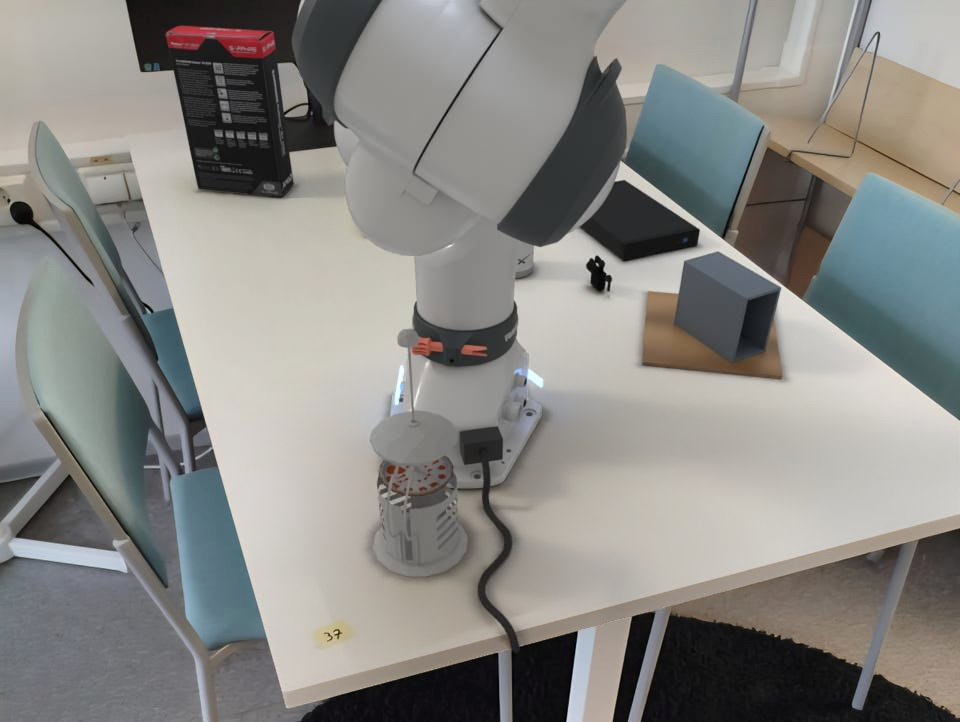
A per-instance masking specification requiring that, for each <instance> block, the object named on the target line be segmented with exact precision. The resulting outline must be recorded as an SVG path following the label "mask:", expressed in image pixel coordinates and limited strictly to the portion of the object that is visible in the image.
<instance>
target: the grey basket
mask: <svg viewBox="0 0 960 722" xmlns="http://www.w3.org/2000/svg"><path fill="white" fill-rule="evenodd" d="M679 283H680V284H679V290H678V294H679V295H678V301H677V307H676V313H675V319H674V324H676V325H677V326H678V327H680V328H681V329H683V330H684V331H686V332H687V333H689V334H690V335H691V336H693V337H694V338H696V339H697V340H699V341H700V342H702V343H703V344H704V345H706V346H707V347H709V348H710V349H712V350H713V351H715V352H716V353H717V354H719V355H720V356H722V357H723V358H725V359H726V360H728V361H729V362H730V363H735V362H737V361H740V360H743V359H746V358H749V357H752V356H755V355H758V354H760V353H763V352H766V348H767V344H768V340H769V336H770V332H771V328H772V324H773V320H774V321H775V315H776V312H777V308H778V303H779V299H780V296H781V291H782V286H780V285H778V284H776V283H774V282H772V281H771V280H769V279H768V278H765V277H764V276H762V275H760V274H759V273H757V272H756V271H754V270H752V269H750V268H748V267H747V266H745V265H743V264H741V263H740V262H737V260H734V259H733V258H731V257H729V256H727V255H726V254H724V253H722V252H721V251H718V250H717V251H714V252H710V253H707V254H704V255H701V256H696V257H693V258H689V259H686V260H683V265H682V271H681V279H680V282H679Z"/></svg>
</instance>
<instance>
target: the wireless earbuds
mask: <svg viewBox="0 0 960 722" xmlns="http://www.w3.org/2000/svg"><path fill="white" fill-rule="evenodd" d="M605 267H606V263H605V260H604V259H602V257H600V256H599V255H598V254H597V255H595V256H594V258H593V257H590V258H589V259H588V261H587V262H586V264H585V268H586V270H587V271H588V272H589V273H590V281H589V282H590V286H592V287H593V288H594V289H595V290H596V291H597V292H599V293H600V292H603V291H604V290H605V289H606V292H609V293H610V292H611V285H612V282H613V277H612V275H611V274H608V273H607V272H606V271H605ZM606 284H607V286H606ZM606 287H607V288H606Z"/></svg>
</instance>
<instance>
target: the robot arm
mask: <svg viewBox="0 0 960 722" xmlns="http://www.w3.org/2000/svg"><path fill="white" fill-rule="evenodd" d="M627 2H628V0H300V3H299V6H298V11H297V15H296V16H297V17H296V20H295V23H294V28H293V31H292V36H291V47H292V52H293V55H294V60H295V62H296V66H297V70H298V73H299V76H300V78H301V79H302V80H303V82H304V83H305V85H306V87H307V89H309V91H310V92H311V94H313V96H314V97H315V99H316V100H317V101H318V103H319V104H320V105H321V108H322V119H323V120H324V121H325V123H326V124H327V126H332V125H333V134H334V140H335V144H336V145H335V146H336V148H337V151H338V153H339V155H340V158H341V160H342V161H343V163H344V164H345V166H346V171H345V177H344V195H345V200H346V206H347V209H348V212H349V214H350V216H351V219H352V221H353V223H354V224H355V225H356V227H357V229H358V231H360V233H361V234H362V235H363V236H364V237H365V238H366V239H367V240H368V241H370V243H372V244H374V245H375V246H376V247H378V248H380V249H382V250H383V251H385V252H387V253H391V254H395V255H398V256H404V257H413V258H414V275H415V276H414V279H415V297H416V301H415V302H414V304H413V314H412V317H411V318H412V319H411V329H413V330H415V331H416V332H417V334H418V336H419V344H418V345H417V346H415V347H411V348H410V351H411V368H412V385H413V402H414V411H415V410H419V411H427V412H431V413H435V414H438V415H441V416H443V417H444V418H446V419H447V420H449V421H450V422H452V424H453V425H454V427H455V429H456V430H457V432H458V434H457V443H456V444H455V446H454V447H453V448H452V450H451V451H450V452H449V453H448V454H447V455H445V456H447V457H448V458H449V459H450V461H451V463H452V465H453V466H454V467H453V472H454V474H455V475H456V477H457V489H481V488H482V490H481V503H482V506H483V507H482V508H483V510H484V512H485V514H486V516H487V517H488V518H489V519H490V521H491V522H492V523H493V524H494V526H495V527H496V529H498V530H499V532H500V533H501V534H502V536H503V538H504V545H503V548H502V551H501V552H500V553H499V554H498V556H497V557H496V558H495V560H493V562H492V563H491V564H489V566H487V568H485V570H484V571H483V573H482V574H481V576H480V577H479V580H478V584H477V595H478V600H479V602H480V604H481V606H482V607H483V609H484V610H486V611H487V613H489V614H490V616H492V617H493V618H494V619H495V620H496V621H497V622H498V623H499V625H501V627H502V628H503V630H504V631H505V633H506V636H507V639H508V641H509V644H510V649H511V652H513V653H514V654H517V653H519V652H520V650H521V648H520V643H519V640H518V636H517V633H516V631H515V629H514V627H513V625H512V624H511V622H510V621H509V619H508V618H507V617H506V616H505V615H504V613H502V612H501V611H500V610H499V609H498V608H497V607H495V606H494V605H493V603H492V602H491V601H490V600H489V598H488V595H487V591H486V588H487V584H488V581H489V579H490V578H491V576H492V575H493V574H494V573H495V572H496V571H497V570H498V569H499V568H500V567H501V565H502V564H503V563H504V562H505V560H507V558H508V557H509V555H510V553H511V552H512V547H513V535H512V534H511V531H510V529H509V528H508V527H507V526H506V525H505V524H504V522H502V520H500V518H498V517H497V515H496V514H495V512H494V511H493V508H492V506H491V503H490V492H491V491H490V490H491V487H493V486H496V485H500V484H502V483H503V482H504V481H505V480H506V478H507V477H508V476H509V474H510V472H511V470H512V468H513V467H514V465H515V464H516V462H517V460H518V458H519V456H520V455H521V453H522V451H523V450H524V448H525V446H526V445H527V443H528V441H529V439H530V437H531V436H532V434H533V432H534V431H535V429H536V427H537V426H538V424H539V422H540V421H541V419H542V416H543V408H542V407H543V406H541V404H539V403H538V402H537V401H535V400H533V399H532V398H530V381H532V383H534V384H536V386H538V387H539V388H543V387H544V379H543V378H542V377H540V375H538V374H537V373H535V372H534V371H533V370H531V369H530V355H529V352H528V351H527V350H526V349H525V348H524V347H523V346H522V344H521V343H520V342H519V340H518V339H517V336H518V326H519V314H518V305H517V302H516V301H515V287H516V278H515V275H516V265H517V258H518V252H519V248H520V244H521V241H522V242H524V243H527V244H530V245H534V247H537V248H542V247H543V248H544V247H546V246H550V245H553V244H557V243H559V242H560V241H562V240H563V238H565V236H566V235H568V234H571V233H572V232H574V231H575V230H577V229H578V228H579V227H580V226H581V225H582V224H583V223H585V222H586V221H587V220H588V219H589V218H591V217H592V215H593V214H594V213H595V212H596V211H597V210H598V209H599V208H600V206H601V205H602V204H603V202H604V201H605V199H606V198H607V196H608V194H609V192H610V191H611V189H612V187H613V184H614V182H615V181H616V179H617V176H618V173H619V169H620V166H621V161H622V158H623V156H624V155H625V151H626V149H627V139H628V128H627V127H628V126H627V123H628V122H627V111H626V107H625V104H624V100H623V97H622V93H621V92H620V89H619V87H618V84H617V80H618V78H619V76H620V75H621V72H622V70H623V66H622V65H621V63H620V62H619V61H620V60H618V57H616V58H614V59H613V60H612V61H611V62H610V63H609V64H608V66H607V67H606V68H605V69H604V70H603V71H602V69H601V68H600V65H599V64H600V63H599V60H598V55H595V49H596V44H597V42H598V40H599V38H600V36H601V35H602V33H603V32H604V30H605V29H606V27H607V26H608V24H609V23H610V22H611V20H612V19H613V17H614V16H615V15H616V14H617V13H618V12H619V10H621V8H622V7H623V6H624V5H625V4H626V3H627ZM580 228H581V227H580ZM406 352H407V355H408V348H406ZM405 369H406V370H405V380H404V381H403V377H404V365H400V367H399V372H398V379H397V384H396V389H395V390H394V391H393V392H392V395H391V401H390V402H391V403H390V410H389V417H390V416H392V415H394V414H398V413H403V412H409V411H412V407H411V390H410V374H409V357H408V356H407V357H406V368H405ZM446 486H448V487H449V488H450V489H454V488H453V487H452V486H451V485H450V484H449V483H447V485H446Z"/></svg>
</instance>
